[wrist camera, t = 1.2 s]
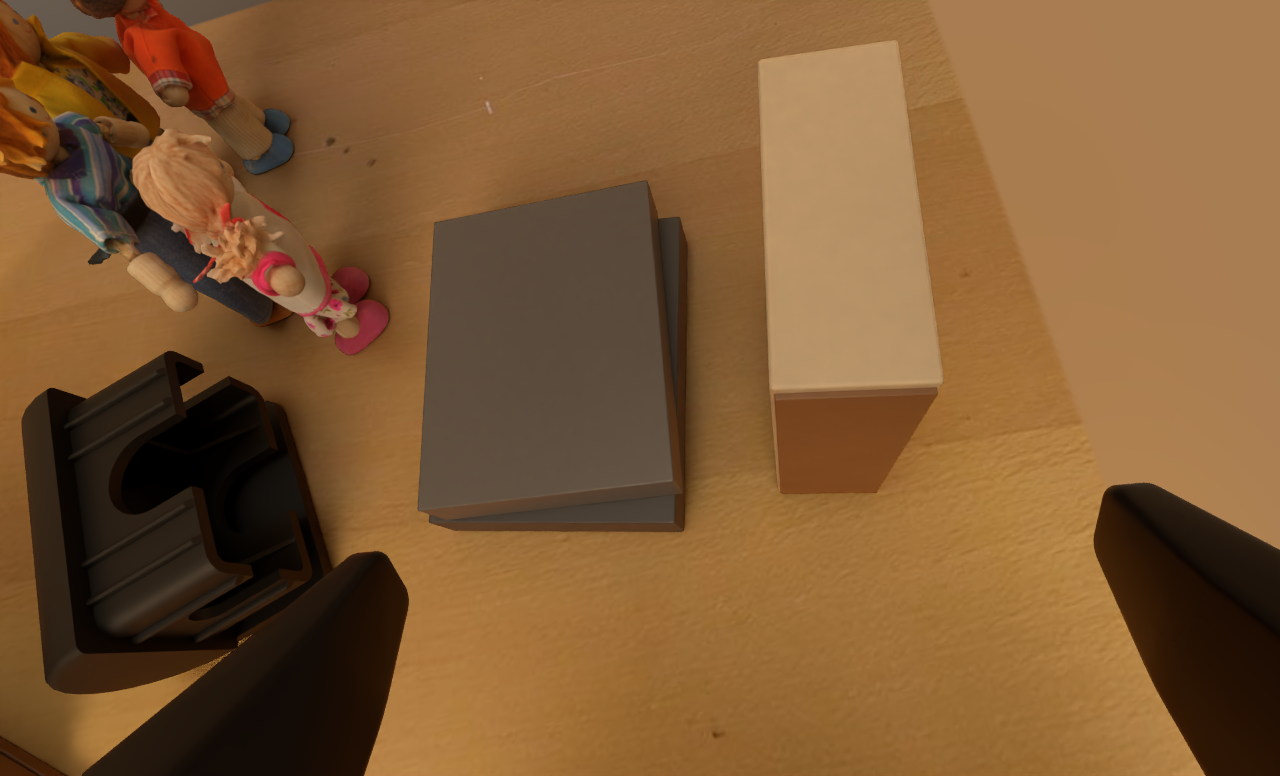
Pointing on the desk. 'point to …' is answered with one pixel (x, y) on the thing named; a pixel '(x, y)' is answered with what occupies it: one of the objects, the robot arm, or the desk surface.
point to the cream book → (843, 268)
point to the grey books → (557, 368)
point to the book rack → (21, 762)
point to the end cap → (162, 525)
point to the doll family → (166, 170)
